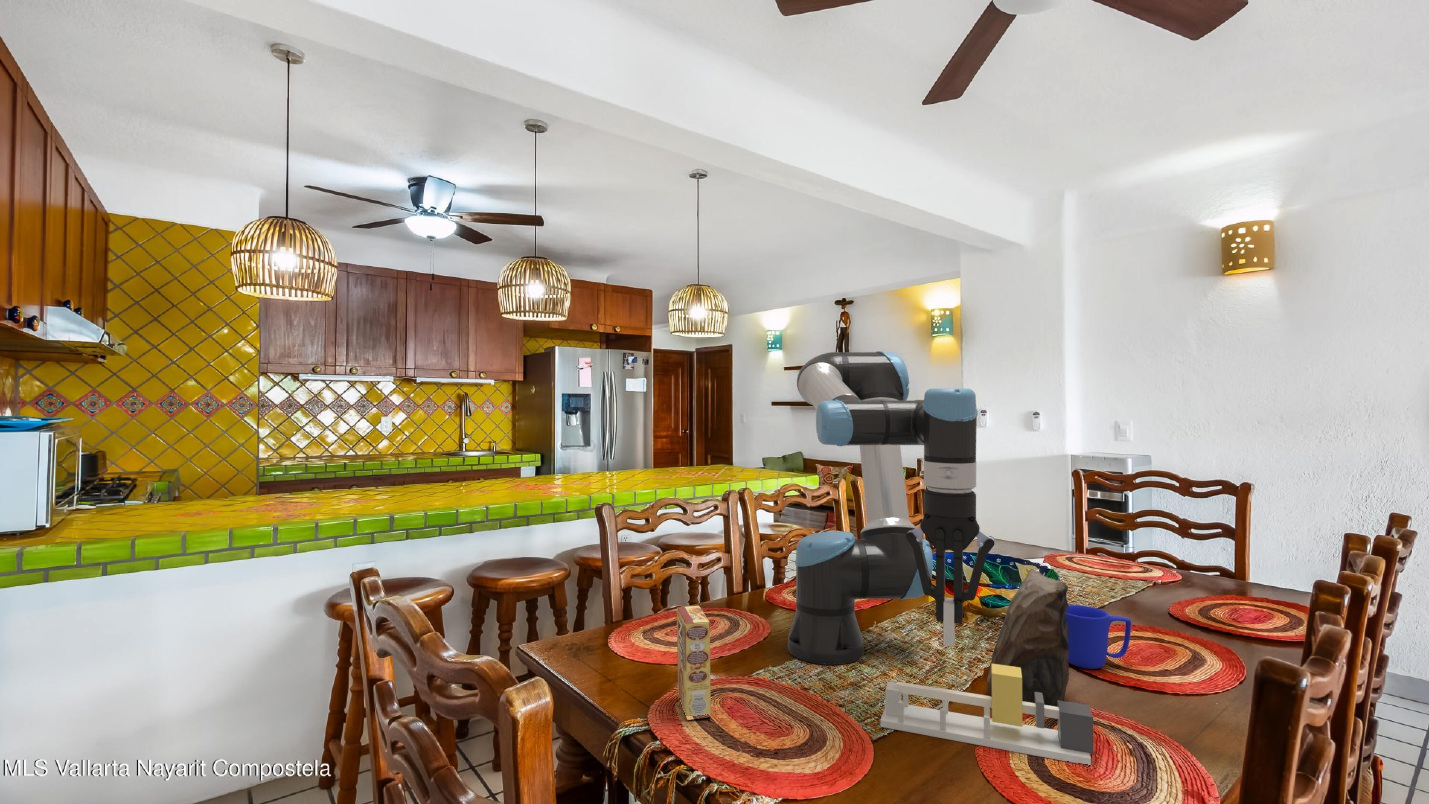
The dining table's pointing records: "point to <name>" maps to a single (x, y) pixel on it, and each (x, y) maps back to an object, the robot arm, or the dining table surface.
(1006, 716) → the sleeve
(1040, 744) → the comb rail
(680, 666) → the candy box
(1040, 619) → the brown rock
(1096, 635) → the mug
